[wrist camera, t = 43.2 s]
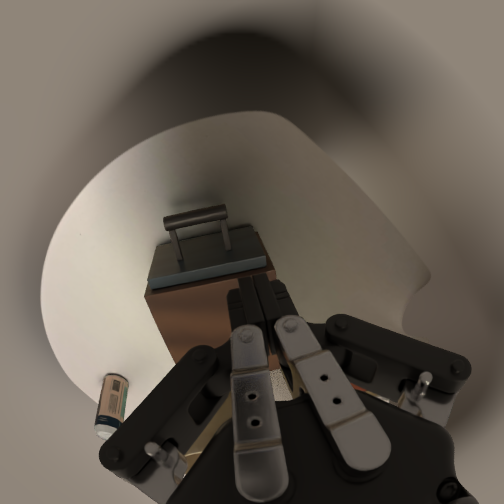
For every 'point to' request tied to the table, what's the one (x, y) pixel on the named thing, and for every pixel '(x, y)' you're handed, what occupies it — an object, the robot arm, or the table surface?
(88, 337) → the table surface
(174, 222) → the drawer
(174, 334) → the cabinet
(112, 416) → the beer can
